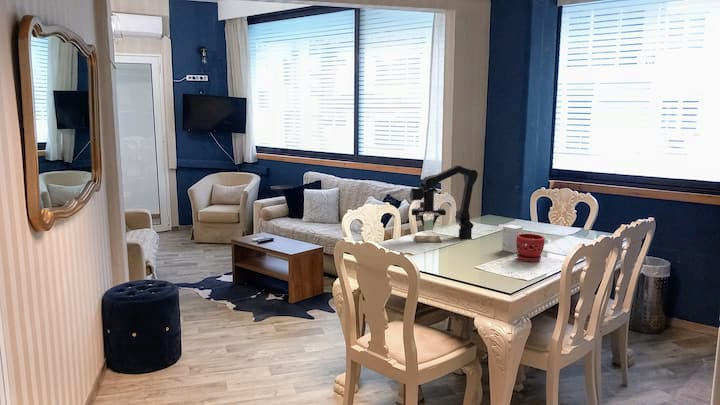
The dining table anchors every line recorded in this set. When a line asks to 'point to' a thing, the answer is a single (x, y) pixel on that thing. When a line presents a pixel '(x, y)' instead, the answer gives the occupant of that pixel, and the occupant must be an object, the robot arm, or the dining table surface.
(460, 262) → the dining table surface
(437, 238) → the walnut board
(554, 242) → the dining table surface
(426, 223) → the green cube
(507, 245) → the small box
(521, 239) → the plant pot
